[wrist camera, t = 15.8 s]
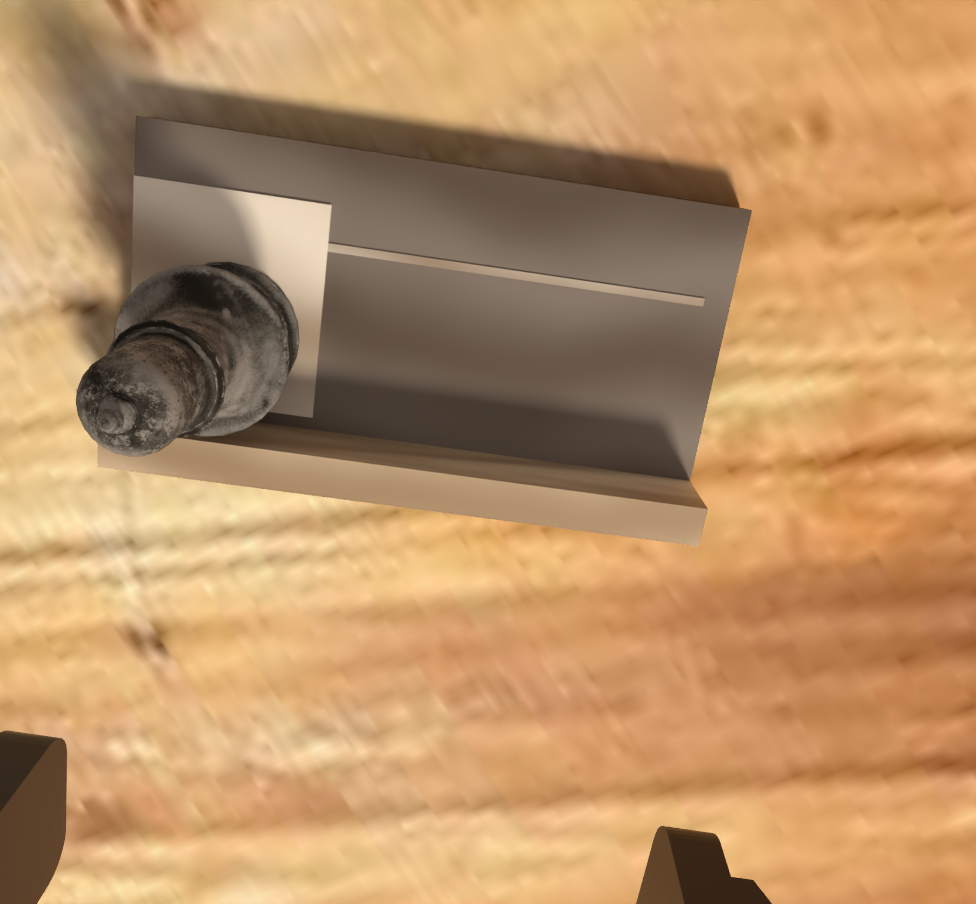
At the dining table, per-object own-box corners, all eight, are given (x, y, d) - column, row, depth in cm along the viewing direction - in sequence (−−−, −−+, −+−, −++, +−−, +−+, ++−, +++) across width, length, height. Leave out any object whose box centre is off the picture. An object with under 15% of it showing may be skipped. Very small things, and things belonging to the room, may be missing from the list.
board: (150, 117, 33) (102, 113, 29) (740, 207, 34) (777, 216, 30) (141, 430, 37) (97, 467, 33) (674, 501, 38) (699, 546, 34)
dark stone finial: (199, 432, 35) (66, 567, 24) (119, 293, 34) (-65, 367, 22) (335, 371, 35) (265, 480, 23) (260, 226, 33) (145, 266, 22)
